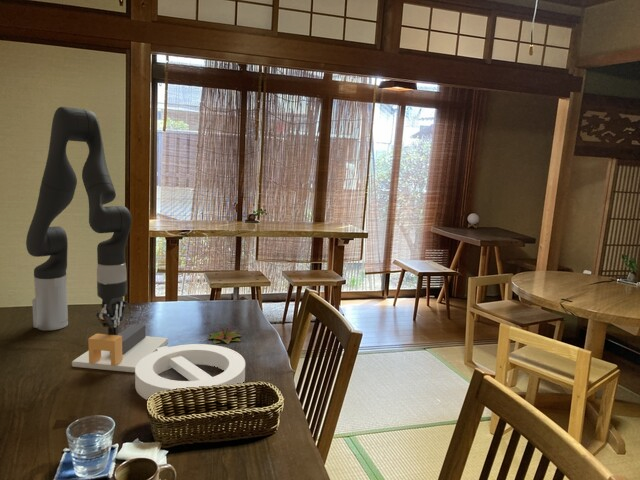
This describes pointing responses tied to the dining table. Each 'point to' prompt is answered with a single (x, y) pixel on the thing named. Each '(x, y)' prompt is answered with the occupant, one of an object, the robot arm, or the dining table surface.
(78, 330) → the dining table surface
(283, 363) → the dining table surface
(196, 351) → the ring with crossbar
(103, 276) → the robot arm
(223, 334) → the lily flower
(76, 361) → the mat
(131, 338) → the long grey rectangular bar
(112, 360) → the orange arch block
